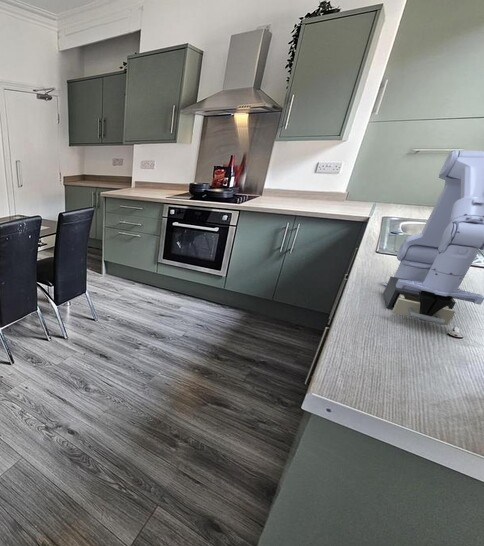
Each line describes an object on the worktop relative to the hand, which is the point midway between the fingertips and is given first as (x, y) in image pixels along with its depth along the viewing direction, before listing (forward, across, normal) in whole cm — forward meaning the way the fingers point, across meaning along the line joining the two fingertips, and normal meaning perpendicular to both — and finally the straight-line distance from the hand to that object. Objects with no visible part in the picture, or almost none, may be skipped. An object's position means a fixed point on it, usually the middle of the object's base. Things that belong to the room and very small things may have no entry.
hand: (422, 319), depth 81 cm
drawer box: (+2, 0, +14) cm, 14 cm away
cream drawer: (+1, 0, +6) cm, 6 cm away
